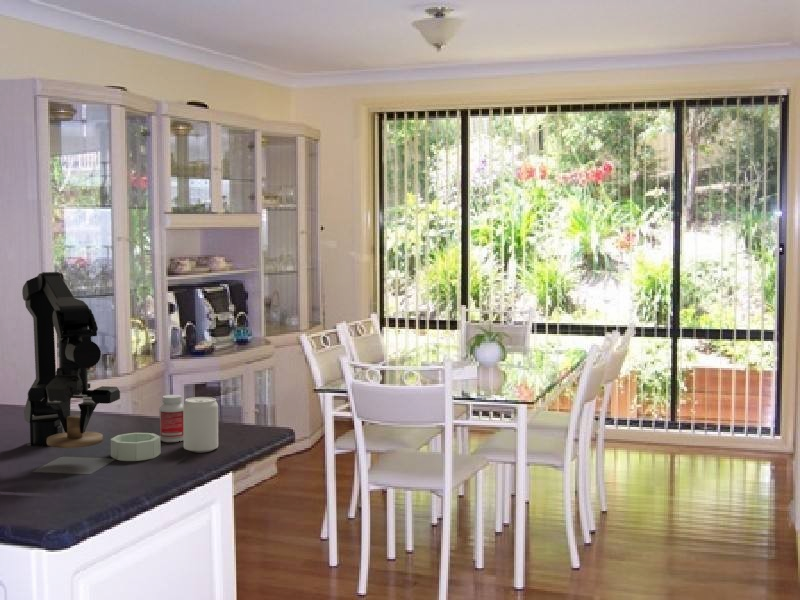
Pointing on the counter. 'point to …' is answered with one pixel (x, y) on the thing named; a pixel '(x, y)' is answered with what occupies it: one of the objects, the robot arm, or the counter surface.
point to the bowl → (135, 446)
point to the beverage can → (200, 424)
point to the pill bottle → (171, 419)
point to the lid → (74, 436)
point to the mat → (74, 465)
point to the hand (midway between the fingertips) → (74, 432)
